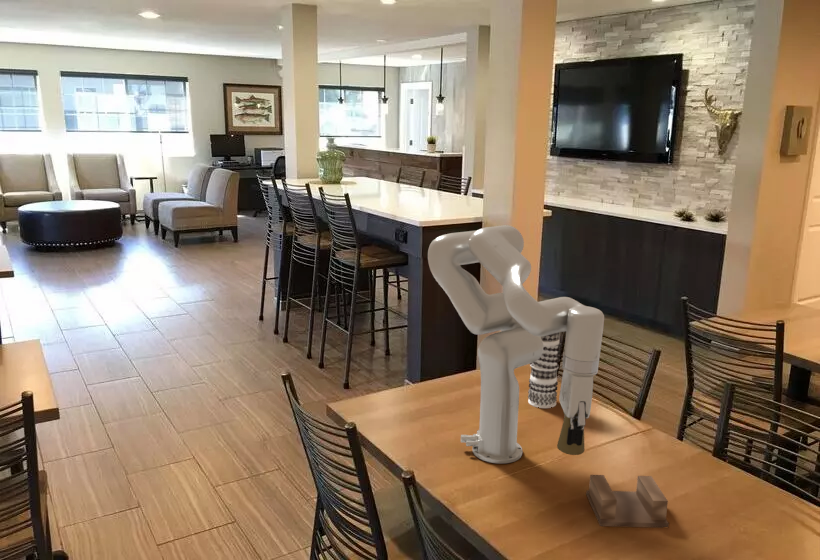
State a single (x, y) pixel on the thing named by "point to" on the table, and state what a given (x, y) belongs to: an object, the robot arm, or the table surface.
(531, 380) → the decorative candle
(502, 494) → the table surface
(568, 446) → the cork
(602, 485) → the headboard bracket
